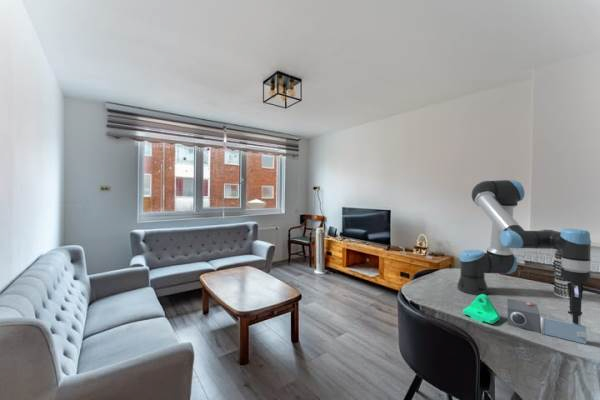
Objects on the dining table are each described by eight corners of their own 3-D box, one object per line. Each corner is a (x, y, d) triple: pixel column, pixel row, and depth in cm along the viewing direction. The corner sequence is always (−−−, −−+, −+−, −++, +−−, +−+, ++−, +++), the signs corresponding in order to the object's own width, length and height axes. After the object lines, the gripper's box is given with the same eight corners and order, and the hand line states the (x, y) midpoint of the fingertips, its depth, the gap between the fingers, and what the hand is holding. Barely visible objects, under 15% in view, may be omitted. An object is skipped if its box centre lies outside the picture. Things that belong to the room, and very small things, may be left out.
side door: (540, 332, 100) (540, 316, 100) (586, 343, 92) (586, 325, 92) (540, 333, 99) (540, 317, 99) (587, 344, 91) (587, 327, 91)
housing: (507, 326, 106) (507, 307, 106) (507, 314, 116) (507, 297, 116) (540, 334, 99) (540, 314, 99) (537, 320, 109) (537, 302, 109)
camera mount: (462, 315, 116) (461, 293, 116) (470, 311, 120) (469, 290, 120) (492, 326, 106) (491, 302, 106) (499, 321, 110) (499, 298, 110)
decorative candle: (581, 300, 128) (580, 252, 128) (556, 297, 133) (555, 251, 133) (573, 294, 136) (573, 249, 136) (550, 291, 141) (550, 248, 141)
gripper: (560, 264, 101) (560, 320, 102) (561, 271, 92) (561, 333, 93) (588, 267, 96) (587, 327, 97) (592, 276, 87) (592, 341, 87)
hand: (575, 330), depth 95 cm, fingers closed
